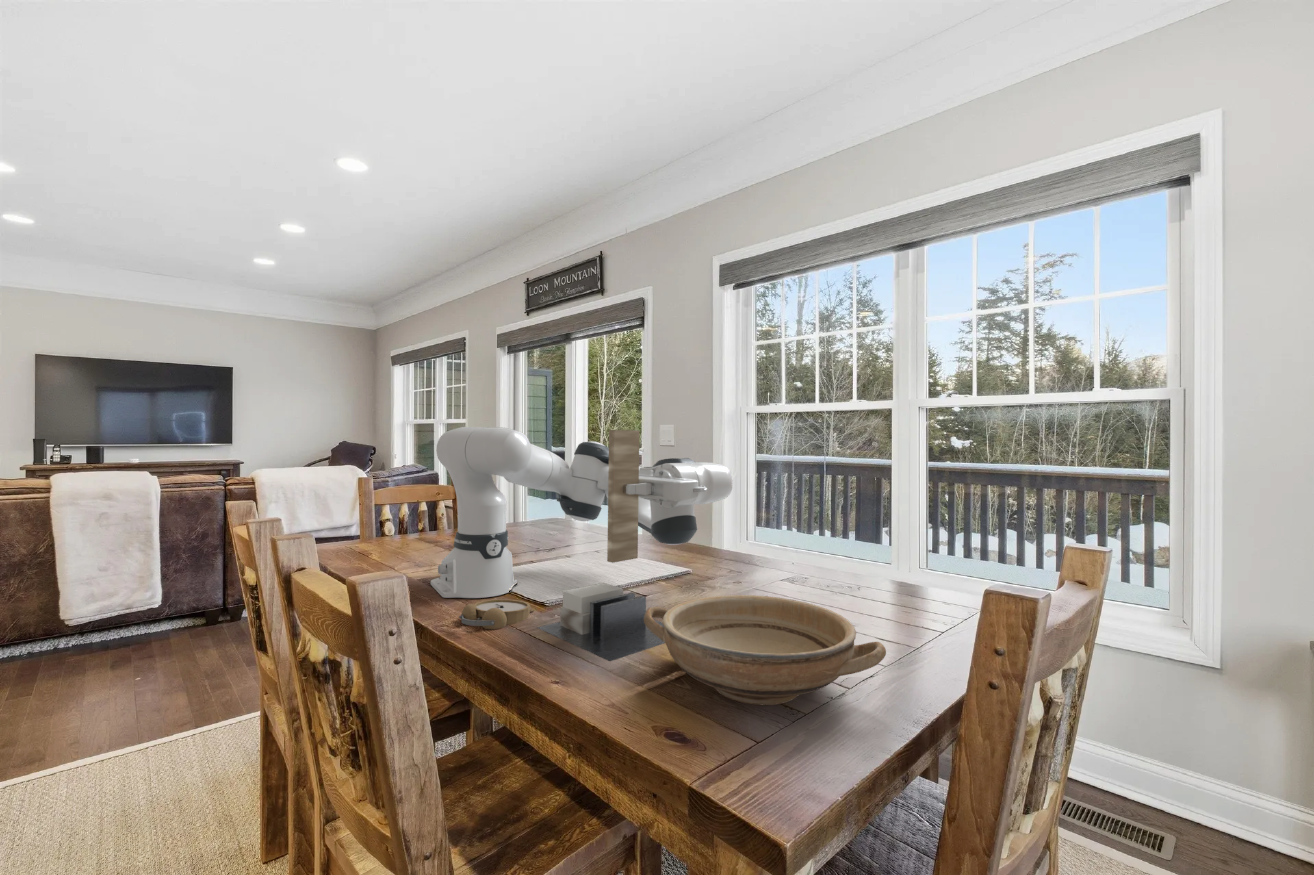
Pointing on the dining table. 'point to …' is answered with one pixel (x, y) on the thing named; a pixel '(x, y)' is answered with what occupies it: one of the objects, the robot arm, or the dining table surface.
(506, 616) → the alarm clock
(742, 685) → the ceramic bowl
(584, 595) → the offcut upper
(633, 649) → the slot rack
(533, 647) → the dining table surface
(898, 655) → the dining table surface
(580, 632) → the offcut lower
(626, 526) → the birch board
